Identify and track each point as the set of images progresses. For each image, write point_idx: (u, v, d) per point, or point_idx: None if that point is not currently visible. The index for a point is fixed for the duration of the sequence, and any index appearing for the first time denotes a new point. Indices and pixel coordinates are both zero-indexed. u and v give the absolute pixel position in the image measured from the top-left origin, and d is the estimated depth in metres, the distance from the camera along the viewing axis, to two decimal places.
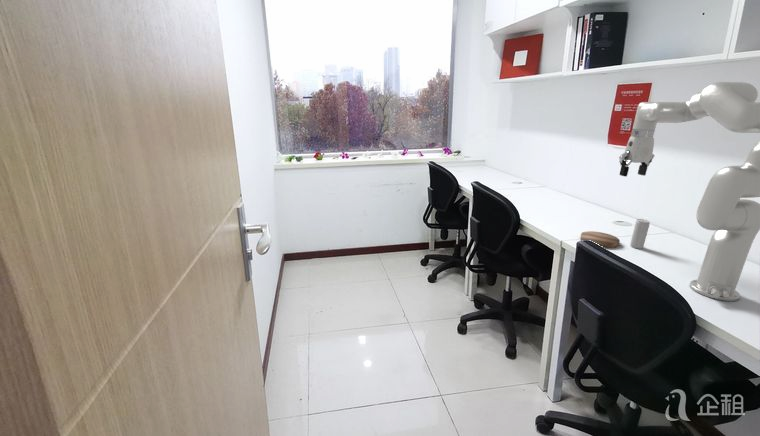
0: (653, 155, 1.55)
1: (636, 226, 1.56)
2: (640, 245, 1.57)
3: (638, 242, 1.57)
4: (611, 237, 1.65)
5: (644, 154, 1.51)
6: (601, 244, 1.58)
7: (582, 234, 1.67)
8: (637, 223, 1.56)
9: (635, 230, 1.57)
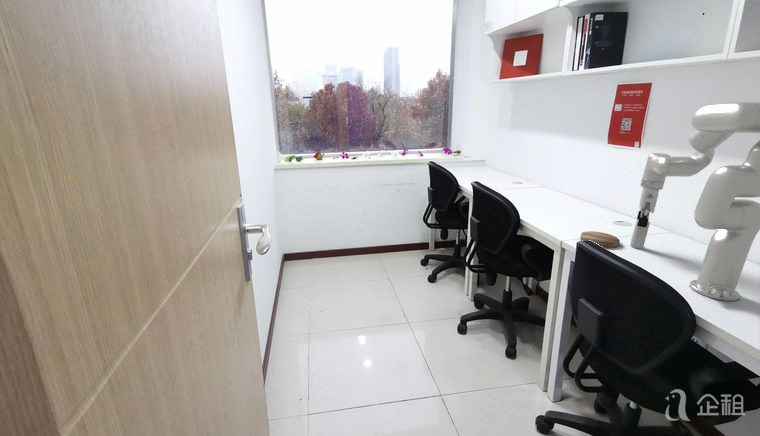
0: None
1: (636, 226, 1.56)
2: (640, 245, 1.57)
3: (638, 242, 1.57)
4: (611, 237, 1.65)
5: None
6: (601, 244, 1.58)
7: (582, 234, 1.67)
8: (637, 223, 1.56)
9: (635, 230, 1.57)
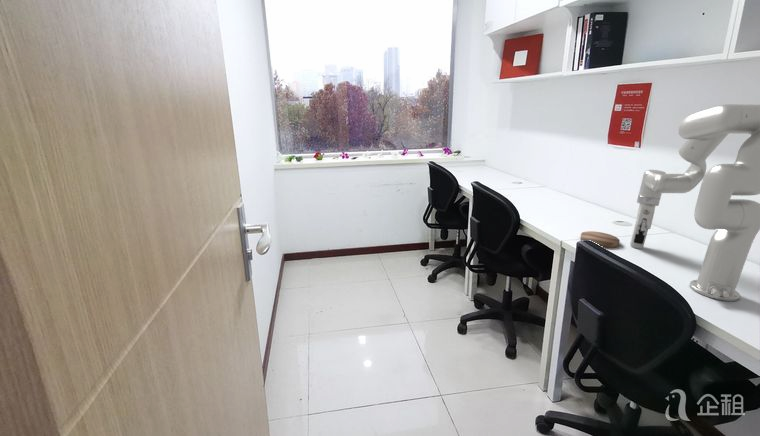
0: None
1: (636, 226, 1.56)
2: (640, 245, 1.57)
3: None
4: (611, 237, 1.65)
5: None
6: (601, 244, 1.58)
7: (582, 234, 1.67)
8: None
9: (635, 230, 1.57)
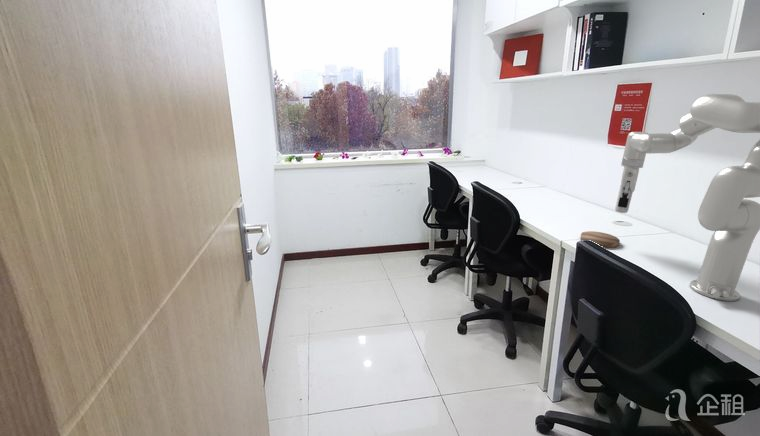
0: None
1: (620, 190, 1.55)
2: (624, 209, 1.56)
3: None
4: (611, 237, 1.65)
5: None
6: (601, 244, 1.58)
7: (582, 234, 1.67)
8: None
9: (620, 193, 1.56)
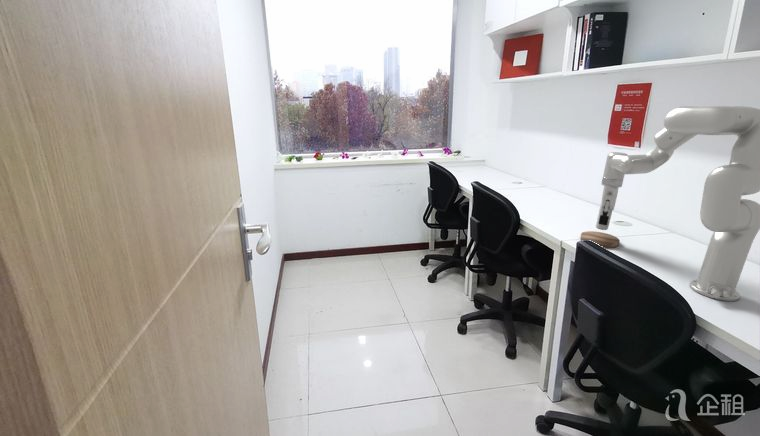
0: None
1: (601, 208, 1.60)
2: (605, 226, 1.60)
3: None
4: (611, 237, 1.65)
5: None
6: (601, 244, 1.58)
7: (582, 234, 1.67)
8: None
9: (600, 211, 1.60)
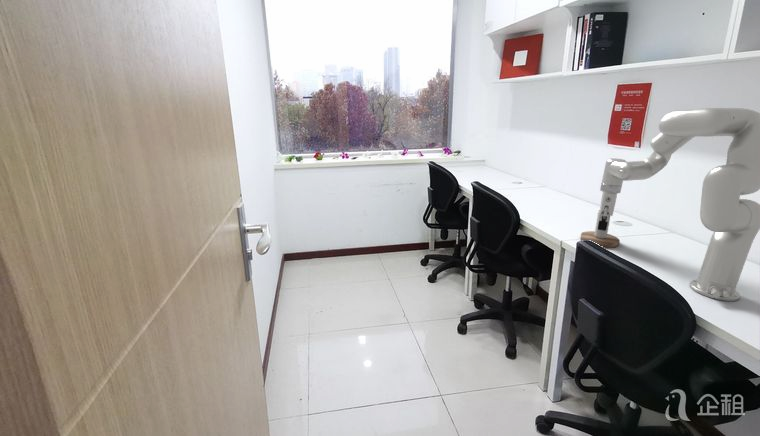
0: None
1: (598, 216, 1.61)
2: (603, 235, 1.61)
3: (601, 232, 1.61)
4: (611, 237, 1.65)
5: None
6: (601, 244, 1.58)
7: (582, 234, 1.67)
8: (599, 213, 1.61)
9: (598, 220, 1.62)
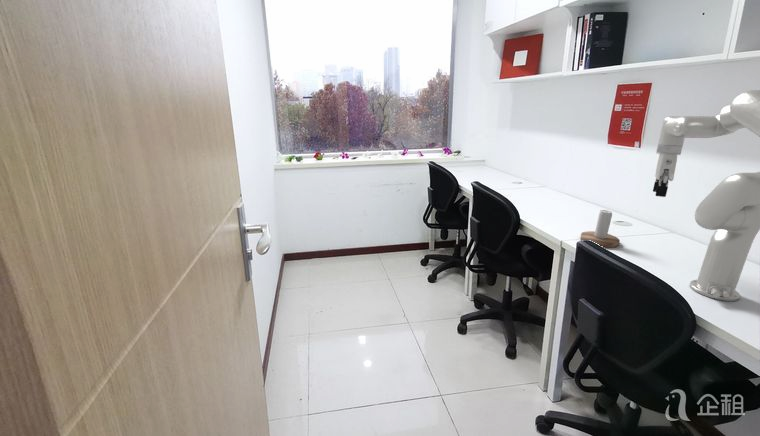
0: None
1: (599, 217, 1.61)
2: (603, 235, 1.61)
3: (601, 232, 1.61)
4: (611, 237, 1.65)
5: None
6: (601, 244, 1.58)
7: (582, 234, 1.67)
8: (600, 214, 1.61)
9: (599, 220, 1.61)
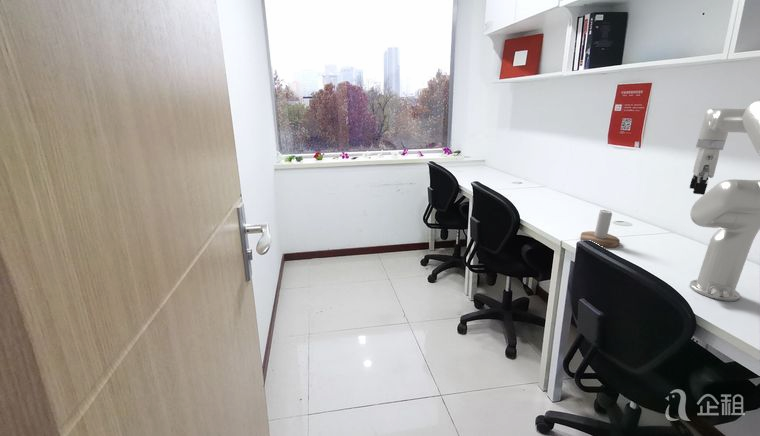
0: None
1: (599, 217, 1.61)
2: (603, 235, 1.61)
3: (601, 232, 1.61)
4: (611, 237, 1.65)
5: None
6: (601, 244, 1.58)
7: (582, 234, 1.67)
8: (600, 214, 1.61)
9: (599, 220, 1.61)
